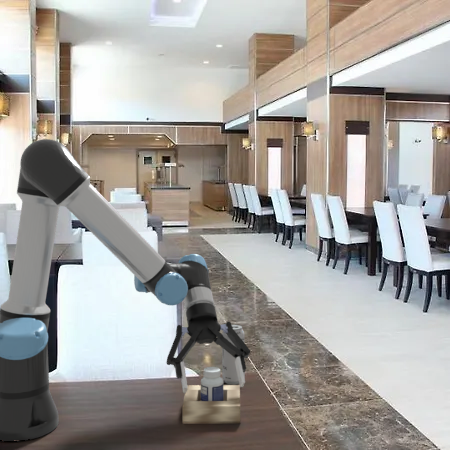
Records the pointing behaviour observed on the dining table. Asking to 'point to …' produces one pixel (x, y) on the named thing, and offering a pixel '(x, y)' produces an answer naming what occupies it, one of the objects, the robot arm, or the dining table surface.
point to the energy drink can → (231, 359)
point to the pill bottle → (212, 385)
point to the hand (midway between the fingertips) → (214, 387)
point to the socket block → (211, 406)
